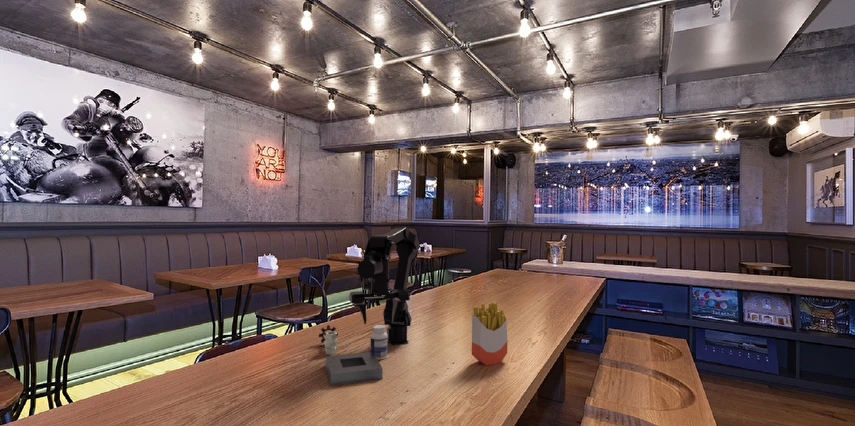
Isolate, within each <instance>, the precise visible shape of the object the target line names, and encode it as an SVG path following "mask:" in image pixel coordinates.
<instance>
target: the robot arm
mask: <svg viewBox="0 0 855 426" xmlns="http://www.w3.org/2000/svg"><path fill="white" fill-rule="evenodd" d="M394 247H395V252H396V254H397V256H398V261H397V267H396V272H395V279H394V285H393V290H392V292H391V291H389V289H390V287H389V286H390V260H391V258H392V257H391V254H392V251H393V250H394ZM419 247H420V240H419V239H418V237H417V235H416V234H414V233H413V232H412V231H410V229H409V227H407V226H395V227H394V228H393V229H391V230H390V231H388V232H386V233H384V234H374V235H371V236H370V237H369V238H368V241H367V242H366V247H365V250H364V251H363V259H362V260H361V261H360V262H359V264H358V266H357V273H358V275H359V276H360V278H362V279H363V280H362V284H361V285H362V290H363V291H367V293H364V292H363V291H360V290H359V291H350V292H349V294H348V295H349V298H348V299H349V300H348V301H349V302H350V303H351V304H352V305H354V306H355V307H358V309H359V312H360V315H361V317H362V320H363V324H364V325H367V309H366V308H367V307H366V306H367V305H366V303H365V301H370V300H371V301H372V300H384V299H386V301H385V307H384V309H383V313H382V315H383V321H384V322H383V323H384V326H388V327H387V328H386V333H387V343H389V344H390V345H391V346H392V345H401V344H409V340H408V327H410V326H411V324H412V316H411V314H410V312H409V305H408V303H407V301H410V299H411V298H410V296H411V295H410V294H411V293H410V292H409V291H408V290H407V289H408V284H409V283H408V282H409V275H410V269H411V263H412V261H413V259H414V258H415V257H416V256H417V252H418V250H419ZM369 279H370V280H369Z"/></svg>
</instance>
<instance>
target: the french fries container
mask: <svg viewBox="0 0 855 426" xmlns="http://www.w3.org/2000/svg"><path fill="white" fill-rule="evenodd" d="M472 307H473V308H472V309H473V311H472V312H473V314H471V315H472V316H471V318H472V319H471V325H472V326H471V355H472V356H473V358H474V359H476V360H477V361H478V362H480V363H481V364H483V365H485V366H491V365H495V364H500V363H502V361H503V360H504V359H505V357H506V356H507V354H508V327H507V318H506V316H505V313H504V310H503V309H500V308H498V302H496V301H493V302H490V303H489V302H488V307H486V305H485V303H481V307H478V306H477V305H475V306H472Z"/></svg>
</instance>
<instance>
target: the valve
mask: <svg viewBox="0 0 855 426" xmlns="http://www.w3.org/2000/svg"><path fill="white" fill-rule="evenodd" d="M320 331H321V332H322V333H318V338H321V339H320V343H324V348H325V355H328V356H333V355H334V354H335V355H336V354H337V346H338V335H339V332H337V328H336V327H335V326H333V327H332V328H331V326H330V325H329V324H327V325H326V328H325V327H321V328H320ZM326 331H327V332H326ZM324 336H325V337H324Z"/></svg>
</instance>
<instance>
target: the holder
mask: <svg viewBox="0 0 855 426" xmlns="http://www.w3.org/2000/svg"><path fill="white" fill-rule="evenodd" d="M324 359H325V360H324V361H325V362H324V366H325V367H324V368H325V371H326V375H327V378H328V382H329V385H330V386H331V387H332V386H340V385H347V384H355V383H362V382H369V381H378V380H383V367H382V365H381V363H380V362H379V360H377V359H376V357H375V356H374V354H373V353H372V352H370V351H365V352H357V353H356V352H354V353H346V354H345V353H344V354H335V355H328V356H327V355H326V356H325V358H324Z"/></svg>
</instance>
